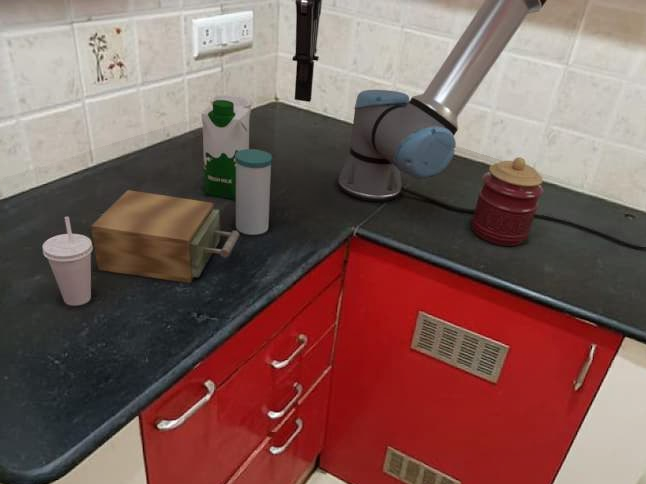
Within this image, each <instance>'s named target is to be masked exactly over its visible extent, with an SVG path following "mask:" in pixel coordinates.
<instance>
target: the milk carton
mask: <svg viewBox="0 0 646 484" xmlns="http://www.w3.org/2000/svg"><path fill="white" fill-rule="evenodd" d="M250 115H251V113H250V109H249V108H243V107H237V106H234V104H233V103H232V102H230V101H226V100H216V101H213V105H211V104H210V105H209V106H208V107H207V108H206V109H204V110H203V111H202V112H201V122H202V146H203V148H202V149H203V174H204V176H203V177H204V187H205V188H204V189H205V196H211V197H216V198H223V199H227V200H233V201H236V161H235V154H236V153H237V152H238V151H240V150H244V149H250Z"/></svg>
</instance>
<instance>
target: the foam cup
mask: <svg viewBox="0 0 646 484" xmlns="http://www.w3.org/2000/svg"><path fill="white" fill-rule="evenodd" d="M216 100H226V101H230V102H232V103H233V104H234V106H237V107H243V108H249V109H250V114H251V113H252V101H251V100H250V99H248V98H246V97H243V96H241V95H239V96H238V95H235V94H218V95H214V96H211V98H210V105H213V101H216Z"/></svg>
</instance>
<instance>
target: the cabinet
mask: <svg viewBox="0 0 646 484" xmlns="http://www.w3.org/2000/svg"><path fill="white" fill-rule="evenodd" d="M214 204H215V203H214V202H210V201H203V200H196V199H189V198H184V197H183V198H182V197H177V196H169V195H164V194H156V193H150V192H144V191H137V190H130V189H127V190H126V192H124V194H122V195H121V196H120V197H119V198H118V199H117V200H116V201H115V202H114V203H113V204H112V205H111V206H110V207H109V208H108V209H107V210H106V211H105V212H104V213H103V214H101V216H100V217H99V218H98V219H96V221H94V223H92V225H91V226H90V228H91V234H92V240H93V246H94V247H93V248H94V252H95V253H94V254H95V258H96V260H95V261H96V265H97V270H98V271H104V272H112V273H118V274H124V275H131V276H138V277H145V278H152V279H159V280H166V281H173V282H179V283H187V284H191V283H192V281H193V280H194V278H195V277H192V276H191V258H190V242H191V240H192V239H193V237H194V236H195V234H196V233H197V231H198V230H199V228H200V227H201V225H202V224H203V222H205V220H206V219H207V217H208V216H209V214H210V213H211V211H212V210H213V209H215V207H214V206H215V205H214Z"/></svg>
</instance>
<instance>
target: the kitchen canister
mask: <svg viewBox="0 0 646 484" xmlns="http://www.w3.org/2000/svg"><path fill="white" fill-rule="evenodd" d="M488 170H489V172H485V173H484V175H483V176H482V182H483V184H482V187H481V188H480V189H479V191H478V197H477V200H476V204H475V207H474V209H475V212H474V213H472V216H471V225H470V227H471V230H472V231H473V233H474V234H475V235H476V236H477V237H479V238H481V239H483V240H484V241H487V242H489V243H492V244H495V245H499V246H506V247H512V246H513V247H514V246H520V245H521V244H523V243H525V242H526V240H527V239H528V237H529V235H530V232H531V227H532V223H533V221H534V218H535V217H534V215H535V213H536V212H537V209H538V208H539V198H540V197H541V196H543V194H544V189H543V187H542V185H541V184H543V177H542V176H541V174H540V173H538V170H537V169H536V168H534V167H532V166H531V165H529V164H526V160H525V159H524V158H523V157H516V158H514V160H502V161H499V162H497V163H493V164H491V165H489V168H488ZM521 241H522V242H521Z"/></svg>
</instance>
